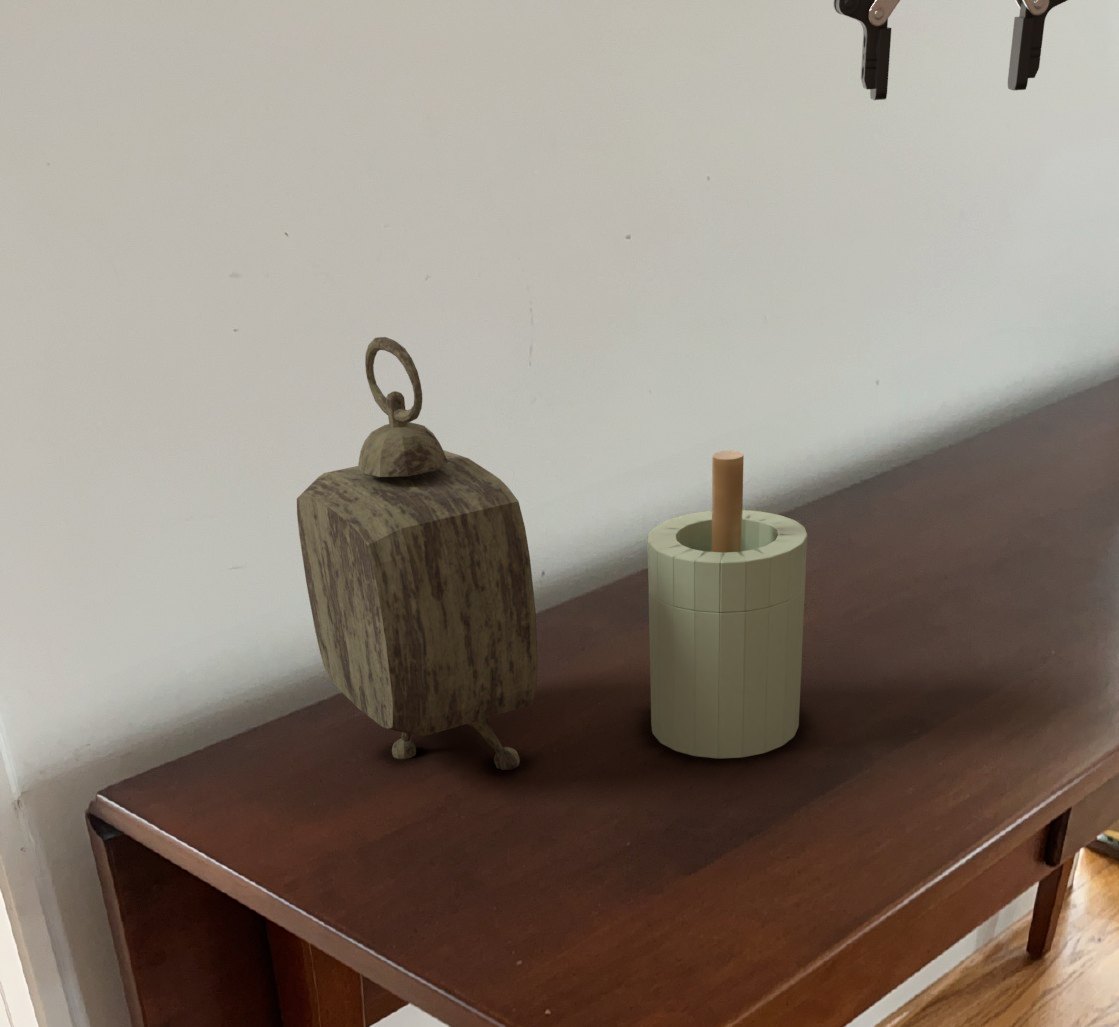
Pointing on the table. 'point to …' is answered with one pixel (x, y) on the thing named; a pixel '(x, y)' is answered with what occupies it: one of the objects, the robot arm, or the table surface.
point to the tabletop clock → (420, 581)
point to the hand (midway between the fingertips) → (946, 94)
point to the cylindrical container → (726, 635)
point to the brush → (727, 501)
